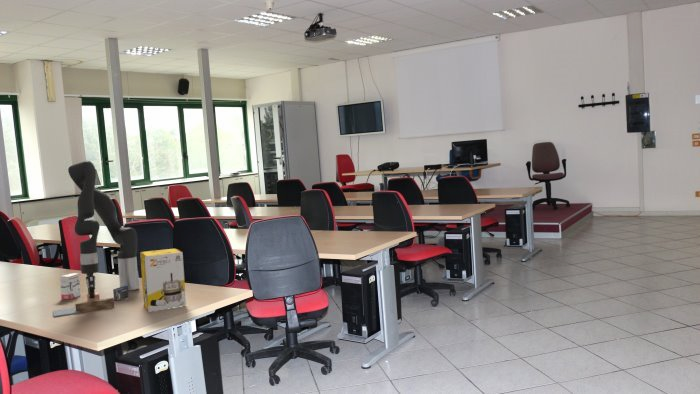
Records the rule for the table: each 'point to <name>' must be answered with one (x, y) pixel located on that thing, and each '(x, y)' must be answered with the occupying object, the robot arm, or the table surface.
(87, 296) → the terracotta block
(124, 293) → the mini dv tape
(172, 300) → the packaging box
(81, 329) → the table surface
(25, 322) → the table surface
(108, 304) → the walnut screen
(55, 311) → the slate mat
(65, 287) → the ink box
